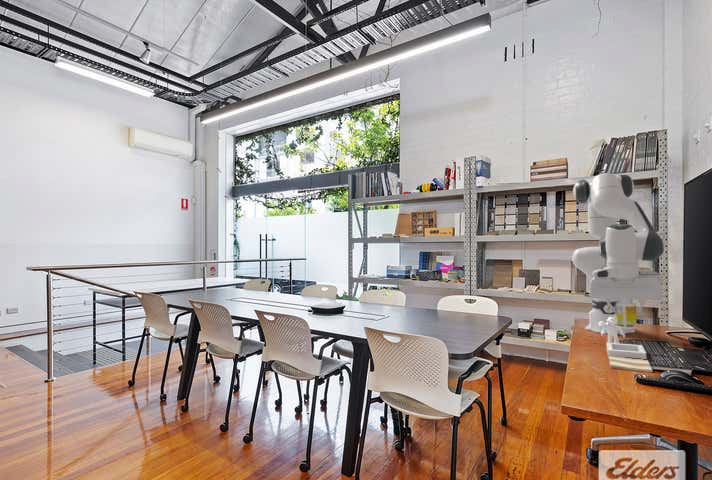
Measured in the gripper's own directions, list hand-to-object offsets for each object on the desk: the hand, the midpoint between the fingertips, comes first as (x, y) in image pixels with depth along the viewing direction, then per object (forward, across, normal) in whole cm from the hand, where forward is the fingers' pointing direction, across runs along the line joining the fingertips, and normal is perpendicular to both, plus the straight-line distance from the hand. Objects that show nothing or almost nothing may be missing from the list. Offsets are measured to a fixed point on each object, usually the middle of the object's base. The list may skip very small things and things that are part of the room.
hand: (625, 312), depth 126 cm
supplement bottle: (+5, 0, 0) cm, 5 cm away
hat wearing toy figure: (+18, +3, -26) cm, 32 cm away
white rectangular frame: (+18, 0, -13) cm, 22 cm away
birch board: (+18, 0, 0) cm, 18 cm away
